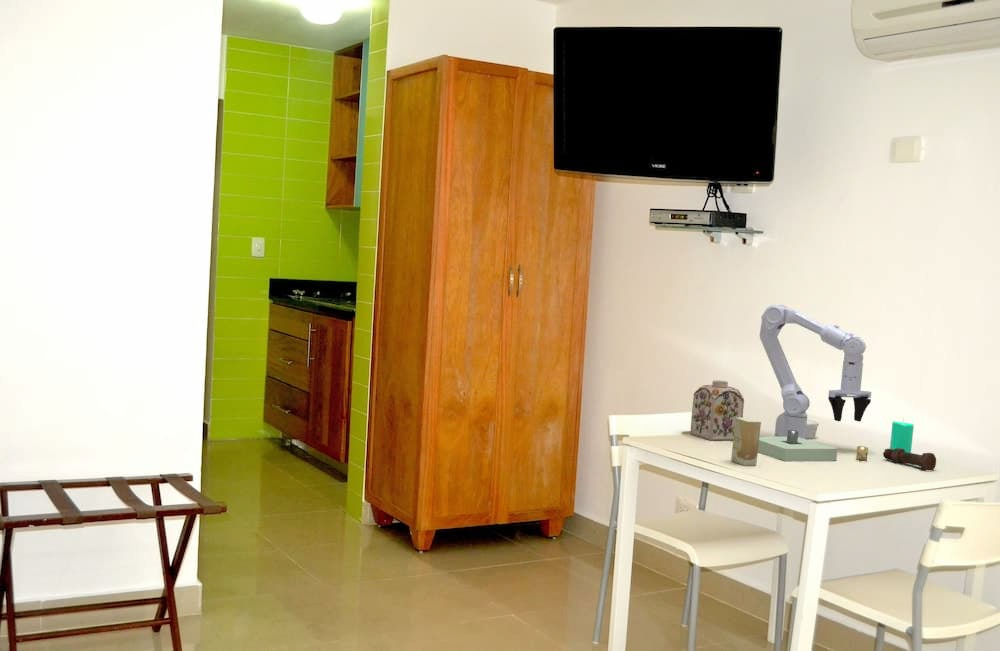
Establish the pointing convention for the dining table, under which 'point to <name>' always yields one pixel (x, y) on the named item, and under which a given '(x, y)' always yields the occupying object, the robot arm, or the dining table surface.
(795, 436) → the tall pin
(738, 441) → the skincare box
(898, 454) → the bolt
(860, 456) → the short pin
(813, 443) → the collar plate
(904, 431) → the candle
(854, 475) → the dining table surface
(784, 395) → the robot arm
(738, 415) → the decorative jar
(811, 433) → the ramekin
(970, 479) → the dining table surface
